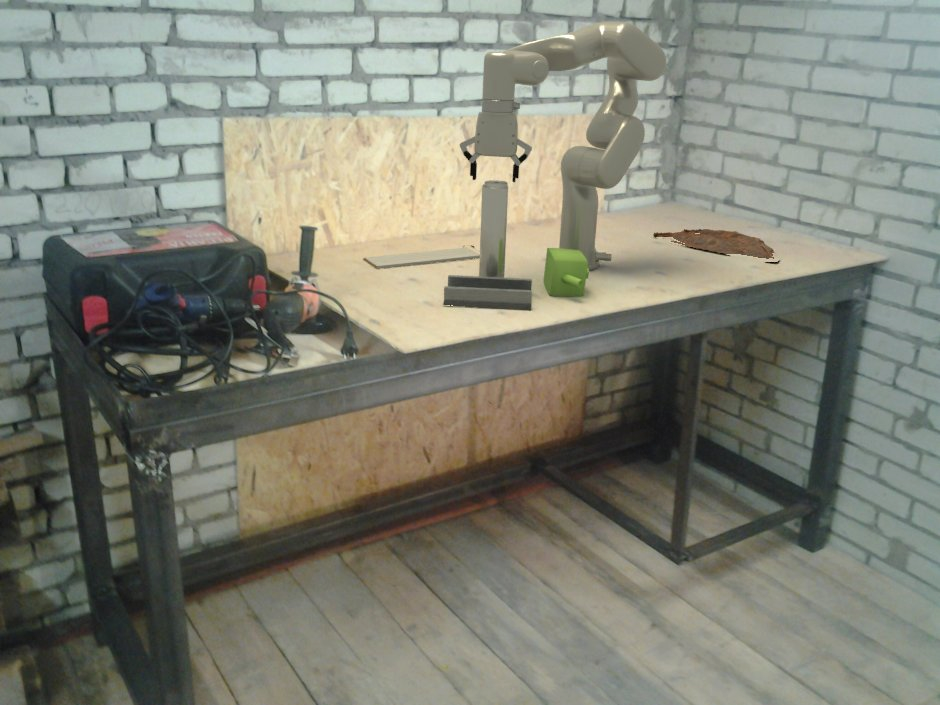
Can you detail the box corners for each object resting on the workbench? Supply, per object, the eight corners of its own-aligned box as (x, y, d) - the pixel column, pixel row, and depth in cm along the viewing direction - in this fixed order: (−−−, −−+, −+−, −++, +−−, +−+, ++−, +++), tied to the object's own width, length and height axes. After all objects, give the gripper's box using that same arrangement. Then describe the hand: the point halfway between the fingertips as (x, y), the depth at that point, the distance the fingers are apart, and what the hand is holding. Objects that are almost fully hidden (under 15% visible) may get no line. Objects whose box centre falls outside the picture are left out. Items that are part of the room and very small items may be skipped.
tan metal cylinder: (488, 275, 225) (491, 178, 216) (509, 280, 221) (513, 181, 212) (473, 281, 220) (476, 181, 211) (495, 286, 216) (499, 185, 207)
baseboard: (361, 260, 238) (377, 271, 228) (360, 249, 237) (376, 260, 227) (462, 250, 251) (481, 260, 241) (462, 240, 250) (482, 250, 240)
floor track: (530, 293, 211) (531, 277, 210) (530, 310, 199) (531, 293, 198) (448, 289, 212) (449, 273, 211) (443, 306, 200) (443, 289, 199)
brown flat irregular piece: (650, 245, 271) (651, 229, 270) (713, 236, 286) (715, 221, 284) (753, 268, 239) (755, 250, 238) (818, 257, 254) (820, 240, 253)
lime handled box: (593, 304, 206) (599, 266, 203) (552, 302, 205) (557, 264, 202) (579, 281, 223) (584, 245, 219) (541, 279, 222) (545, 243, 218)
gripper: (534, 107, 208) (529, 179, 214) (462, 104, 209) (459, 176, 215) (534, 110, 201) (529, 184, 207) (459, 106, 202) (457, 181, 208)
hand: (494, 180), depth 211 cm, fingers open, 9 cm apart
